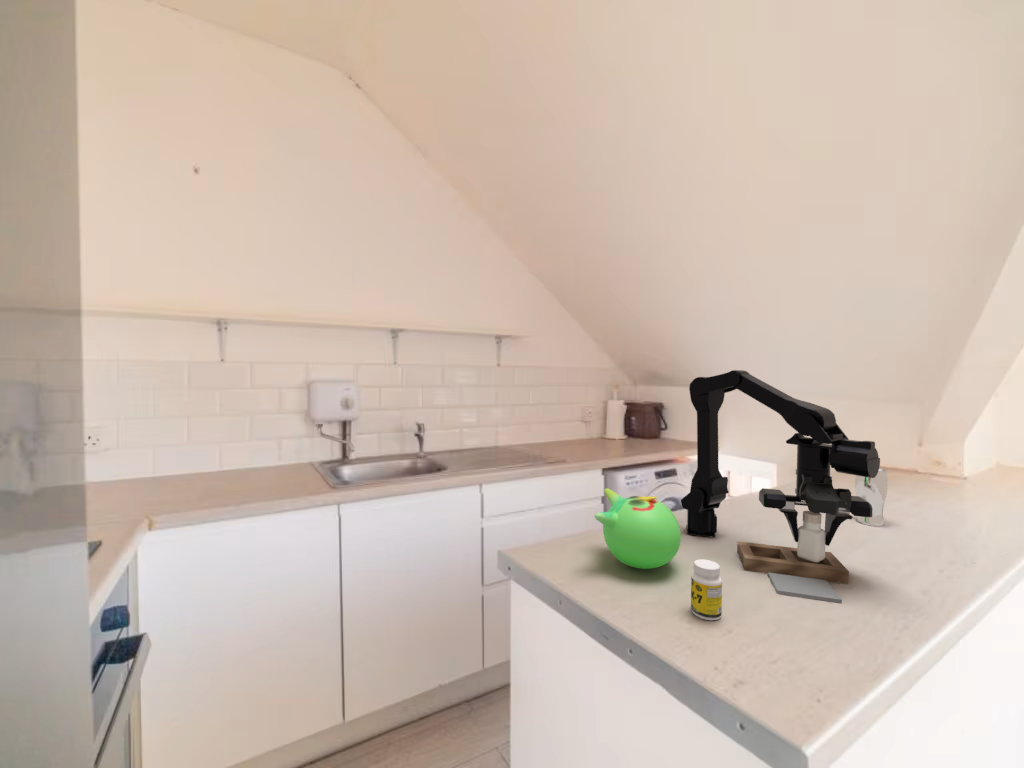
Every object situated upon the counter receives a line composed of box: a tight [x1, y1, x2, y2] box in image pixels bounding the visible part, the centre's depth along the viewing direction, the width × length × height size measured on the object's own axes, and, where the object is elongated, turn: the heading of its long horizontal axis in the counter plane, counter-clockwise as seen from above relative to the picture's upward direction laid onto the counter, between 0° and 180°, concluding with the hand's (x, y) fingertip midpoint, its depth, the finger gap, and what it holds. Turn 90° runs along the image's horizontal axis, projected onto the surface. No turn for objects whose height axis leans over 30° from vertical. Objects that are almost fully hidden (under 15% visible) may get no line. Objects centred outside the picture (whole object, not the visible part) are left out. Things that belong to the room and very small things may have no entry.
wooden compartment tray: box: [736, 540, 850, 585], centre depth 93 cm, size 18×10×2 cm, turn 71°
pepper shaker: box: [796, 510, 826, 562], centre depth 92 cm, size 4×4×10 cm
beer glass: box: [854, 467, 889, 527], centre depth 122 cm, size 7×7×15 cm
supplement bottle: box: [690, 558, 723, 621], centre depth 74 cm, size 5×5×8 cm
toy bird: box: [594, 487, 682, 570], centre depth 94 cm, size 18×17×15 cm
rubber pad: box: [767, 572, 843, 604], centre depth 84 cm, size 10×8×1 cm
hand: (811, 543), depth 92 cm, fingers closed on pepper shaker, 5 cm apart
